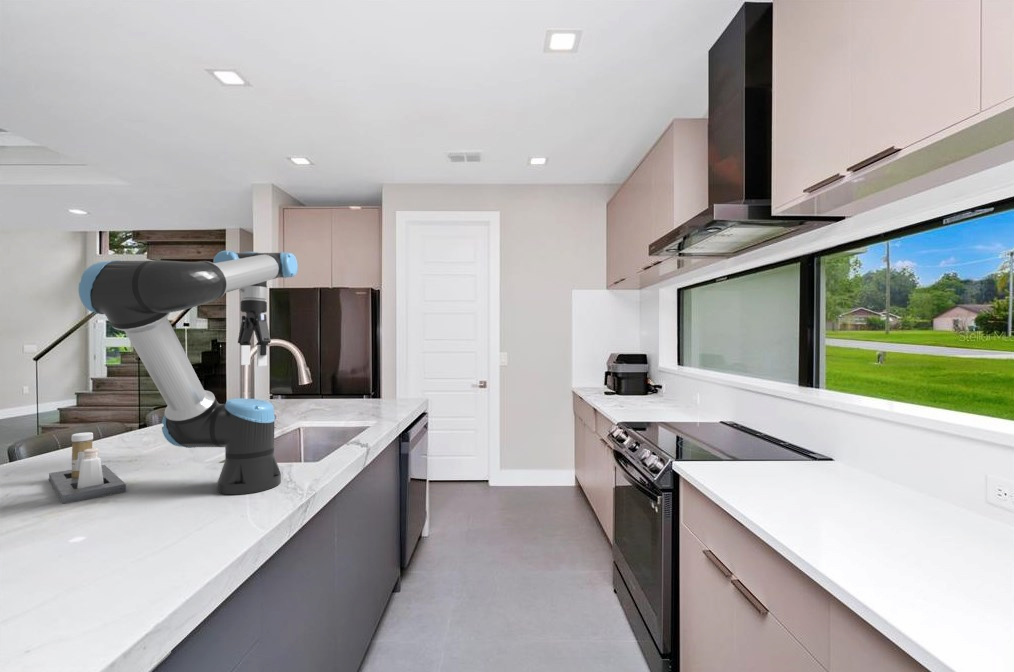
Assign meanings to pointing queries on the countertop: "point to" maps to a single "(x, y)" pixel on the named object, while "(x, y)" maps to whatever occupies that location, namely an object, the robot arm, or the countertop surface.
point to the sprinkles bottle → (79, 450)
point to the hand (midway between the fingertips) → (253, 365)
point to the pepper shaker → (90, 469)
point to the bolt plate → (70, 493)
